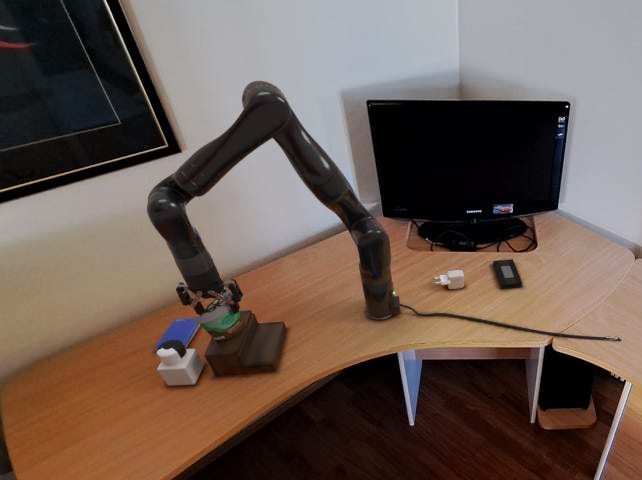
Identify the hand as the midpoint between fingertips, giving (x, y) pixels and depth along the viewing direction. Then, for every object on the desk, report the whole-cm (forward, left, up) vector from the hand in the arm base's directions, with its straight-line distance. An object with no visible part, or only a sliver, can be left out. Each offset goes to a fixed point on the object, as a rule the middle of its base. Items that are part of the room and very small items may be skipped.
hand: (220, 313), depth 120 cm
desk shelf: (-4, 0, -16) cm, 17 cm away
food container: (-2, 0, -7) cm, 7 cm away
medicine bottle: (+12, +7, -16) cm, 21 cm away
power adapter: (-64, -24, -16) cm, 70 cm away
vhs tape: (-86, -28, -16) cm, 92 cm away
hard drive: (+19, -9, -16) cm, 27 cm away
